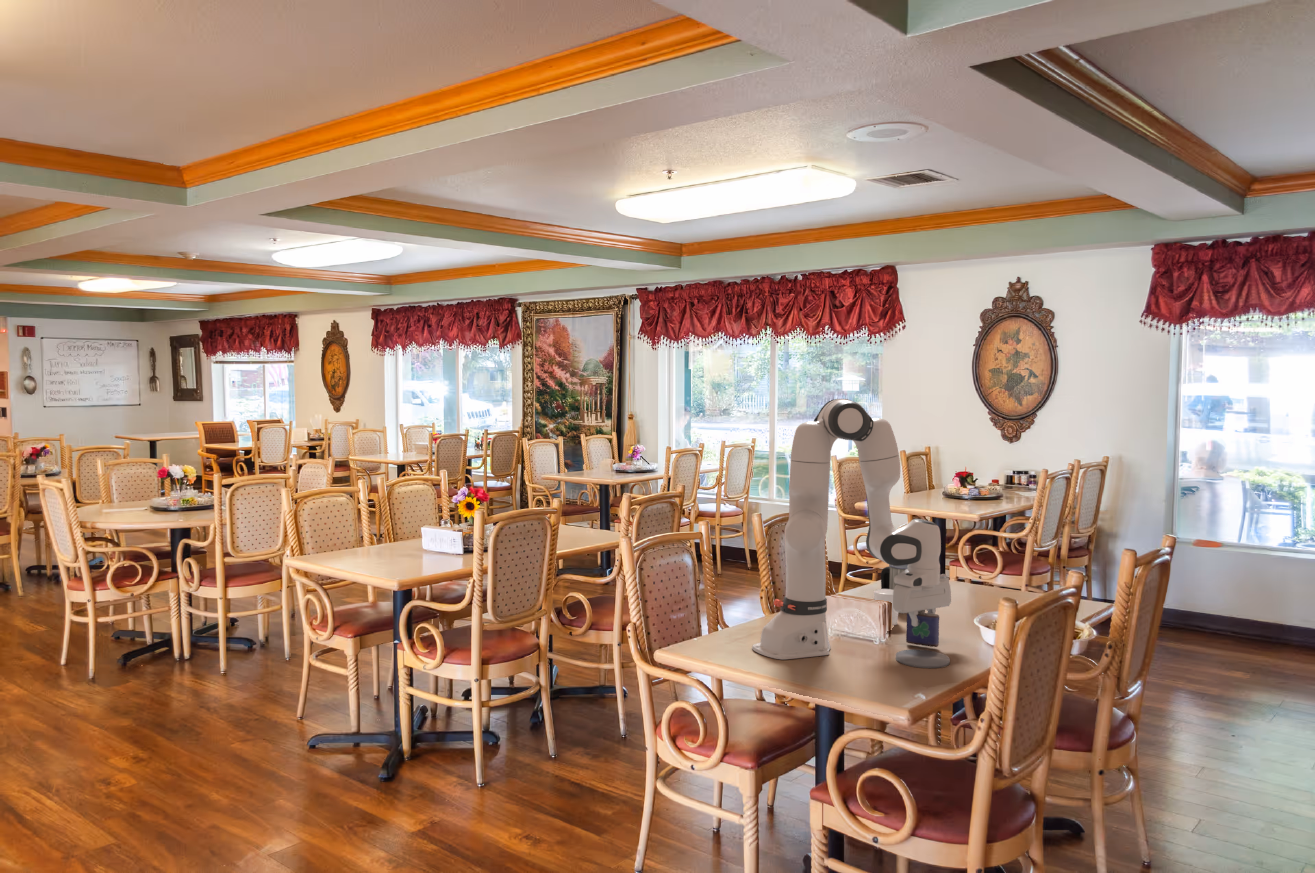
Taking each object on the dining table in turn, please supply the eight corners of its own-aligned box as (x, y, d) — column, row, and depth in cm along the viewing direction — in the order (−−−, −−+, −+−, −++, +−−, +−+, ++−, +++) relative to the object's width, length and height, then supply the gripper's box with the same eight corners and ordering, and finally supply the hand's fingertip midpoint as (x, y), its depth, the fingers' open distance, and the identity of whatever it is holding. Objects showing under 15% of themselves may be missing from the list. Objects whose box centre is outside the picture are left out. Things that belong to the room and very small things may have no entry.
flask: (939, 645, 259) (940, 608, 259) (936, 648, 257) (937, 610, 256) (907, 640, 265) (908, 603, 264) (904, 642, 262) (904, 605, 262)
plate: (924, 671, 238) (924, 667, 238) (884, 657, 250) (884, 654, 250) (960, 663, 246) (961, 659, 246) (920, 650, 258) (920, 646, 258)
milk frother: (921, 609, 306) (922, 565, 306) (898, 617, 295) (899, 572, 294) (883, 602, 316) (884, 559, 315) (859, 610, 304) (860, 566, 304)
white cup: (899, 626, 283) (900, 594, 283) (873, 625, 285) (874, 593, 284) (898, 620, 291) (899, 589, 290) (873, 619, 293) (873, 588, 292)
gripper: (940, 571, 268) (938, 618, 269) (889, 577, 257) (888, 626, 258) (957, 575, 263) (955, 623, 263) (906, 582, 252) (905, 631, 253)
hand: (921, 624), depth 261 cm, fingers closed on flask, 4 cm apart
